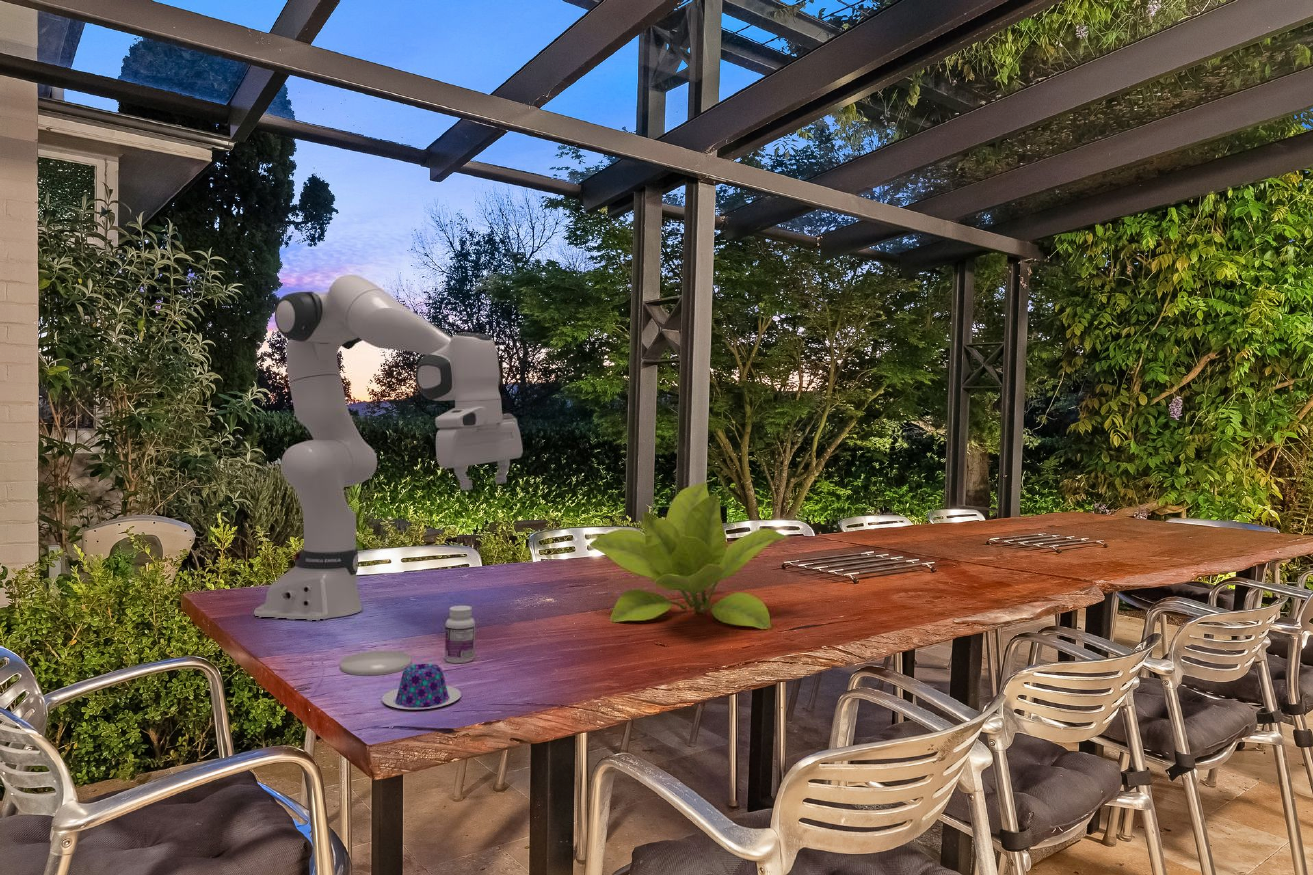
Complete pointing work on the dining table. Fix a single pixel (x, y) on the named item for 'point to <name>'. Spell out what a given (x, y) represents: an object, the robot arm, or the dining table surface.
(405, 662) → the coaster
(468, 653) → the pill bottle
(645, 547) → the artificial plant
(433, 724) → the dining table surface
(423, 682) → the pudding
